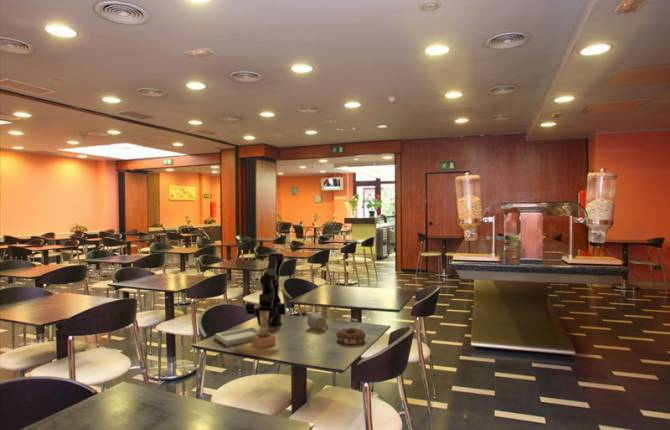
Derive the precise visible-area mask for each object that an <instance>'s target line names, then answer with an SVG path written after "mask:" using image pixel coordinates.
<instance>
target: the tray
mask: <svg viewBox="0 0 670 430" xmlns="http://www.w3.org/2000/svg"><path fill="white" fill-rule="evenodd" d="M257 334H260V328H256V327H255V326H251V327H250V326H249V327H244V328H238V329H233V330H227V331H222V332H216V333H215V339H216V341H219V342H220V343H221V342H222V343H221V344H223V345H224V344H225V346H226V347H230V346H235V345H239V344H246V343H249V342H253V335H257Z"/></svg>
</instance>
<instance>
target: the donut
mask: <svg viewBox="0 0 670 430" xmlns="http://www.w3.org/2000/svg"><path fill="white" fill-rule="evenodd" d="M366 337H367V336H366V333H365V331H364V330H362V329H361V328H360V329H359V328H356V327H349V328H343V329H340V330H338V332H336V339H337V340H338V341H339V342H340V343H342V344H345V345H358V344H361V343H363V342H364V341H365V340H366Z"/></svg>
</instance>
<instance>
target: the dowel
mask: <svg viewBox="0 0 670 430" xmlns="http://www.w3.org/2000/svg"><path fill="white" fill-rule="evenodd" d="M268 320H269V311H260V325H259V330H260V338H265V337H268V333H269V326H268Z"/></svg>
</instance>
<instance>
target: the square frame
mask: <svg viewBox="0 0 670 430" xmlns="http://www.w3.org/2000/svg"><path fill="white" fill-rule="evenodd" d="M252 344H253V345H255V346H257V347H258V348H260V349H262V348H266V347H272V346H276V336H275V334H274V335H273V334H272V333H270V332H268V337H265V338H260V334H257V335H253V341H252Z"/></svg>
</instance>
